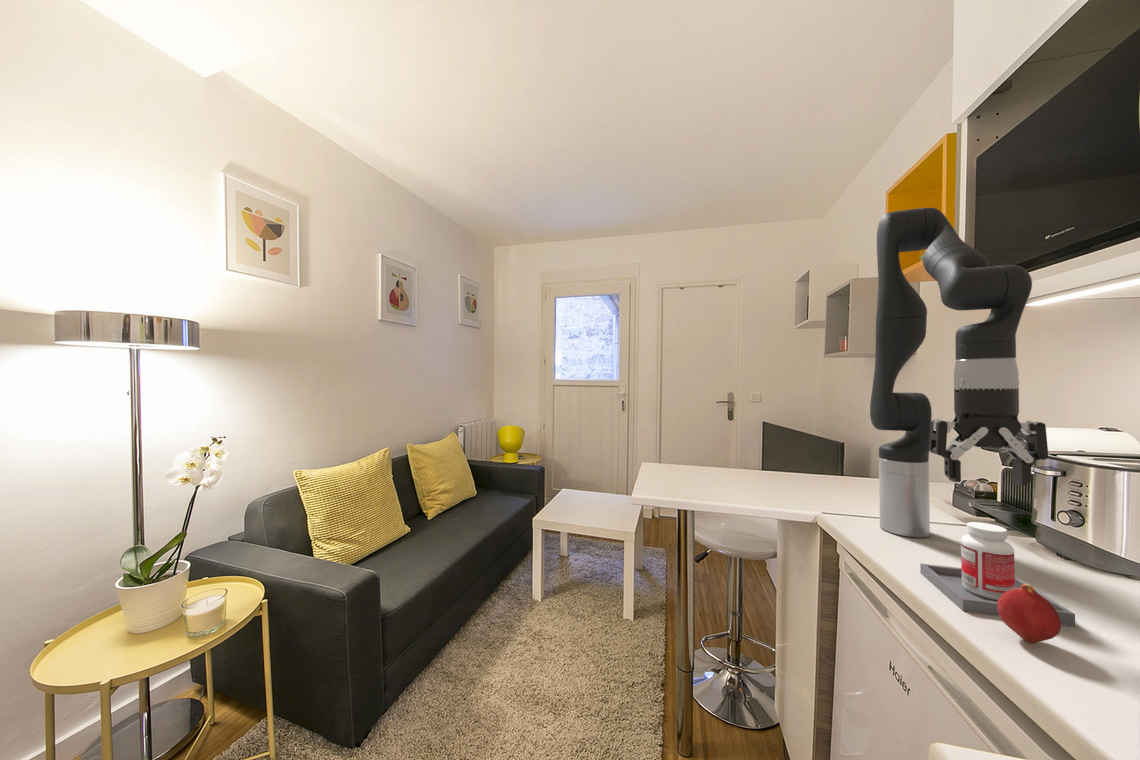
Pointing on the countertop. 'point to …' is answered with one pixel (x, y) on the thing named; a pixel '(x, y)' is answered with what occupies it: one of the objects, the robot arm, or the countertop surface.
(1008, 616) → the onion
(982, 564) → the pill bottle
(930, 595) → the countertop surface
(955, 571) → the slate dish
